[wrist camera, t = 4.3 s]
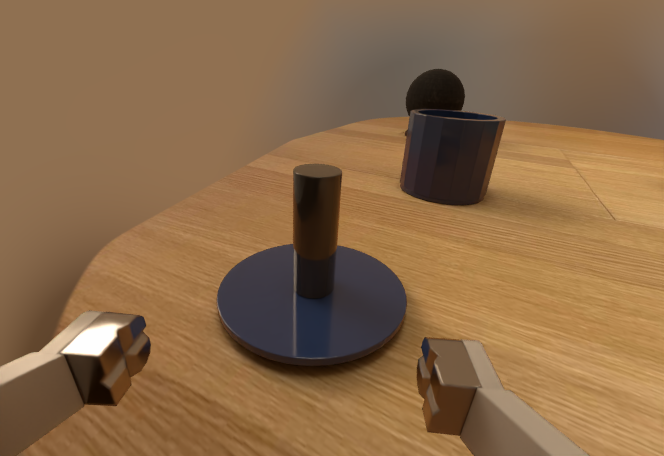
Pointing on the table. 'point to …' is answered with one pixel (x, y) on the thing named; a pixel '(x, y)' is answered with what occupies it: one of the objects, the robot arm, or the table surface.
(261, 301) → the lid
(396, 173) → the table surface
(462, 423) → the robot arm
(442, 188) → the pot
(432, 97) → the ball on stand
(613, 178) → the table surface
